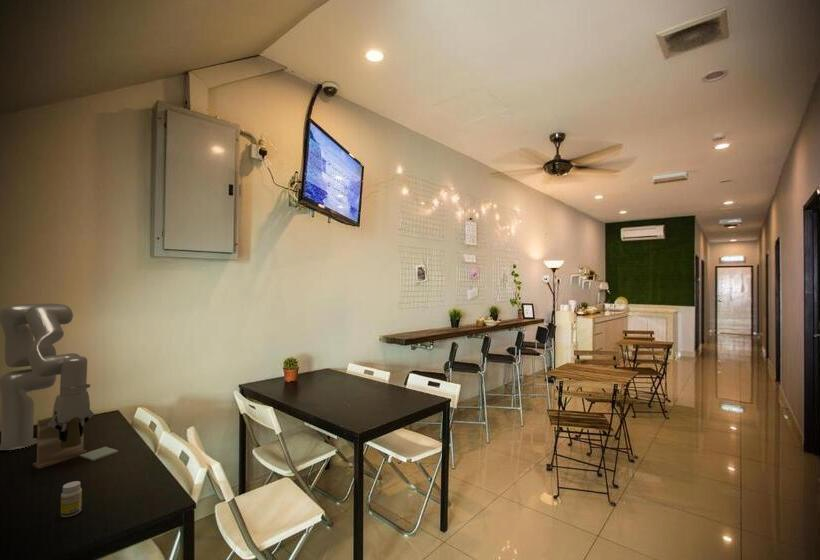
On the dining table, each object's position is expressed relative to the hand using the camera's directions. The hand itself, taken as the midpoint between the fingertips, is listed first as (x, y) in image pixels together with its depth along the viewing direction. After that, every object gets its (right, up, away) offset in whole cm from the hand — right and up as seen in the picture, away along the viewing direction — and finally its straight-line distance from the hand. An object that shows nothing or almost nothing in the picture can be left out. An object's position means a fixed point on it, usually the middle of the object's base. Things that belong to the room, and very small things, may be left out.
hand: (71, 438), depth 147 cm
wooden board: (-8, -10, +4) cm, 13 cm away
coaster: (+3, -10, +9) cm, 14 cm away
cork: (0, -3, 0) cm, 3 cm away
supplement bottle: (+28, -10, -31) cm, 43 cm away
